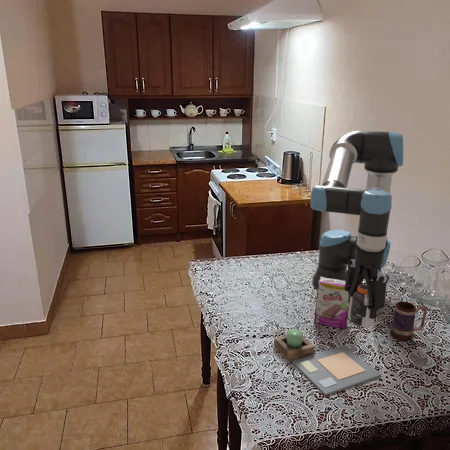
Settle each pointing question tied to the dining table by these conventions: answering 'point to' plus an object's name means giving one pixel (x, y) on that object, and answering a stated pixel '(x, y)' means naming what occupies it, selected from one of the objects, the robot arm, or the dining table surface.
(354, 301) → the pill bottle
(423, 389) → the dining table surface
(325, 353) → the picture board
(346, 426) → the dining table surface
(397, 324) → the mug
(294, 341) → the button
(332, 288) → the candy bar box
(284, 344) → the button box
